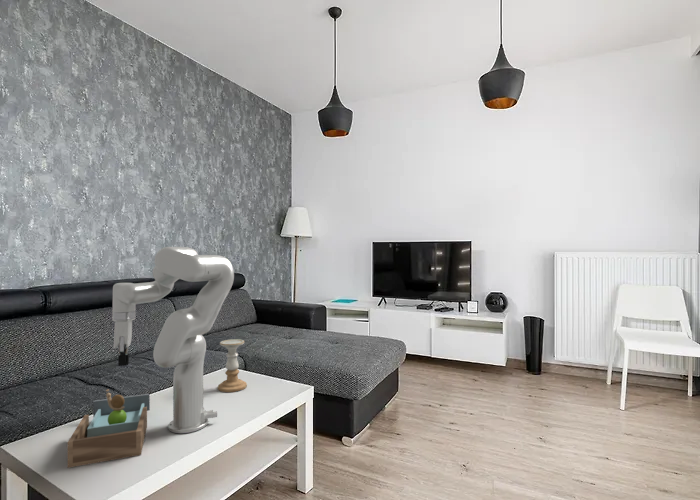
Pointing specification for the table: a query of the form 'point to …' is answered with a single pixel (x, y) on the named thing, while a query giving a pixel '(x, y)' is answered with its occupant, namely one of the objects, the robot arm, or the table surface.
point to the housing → (105, 443)
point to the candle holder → (232, 368)
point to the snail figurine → (116, 409)
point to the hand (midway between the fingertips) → (123, 364)
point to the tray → (102, 410)
